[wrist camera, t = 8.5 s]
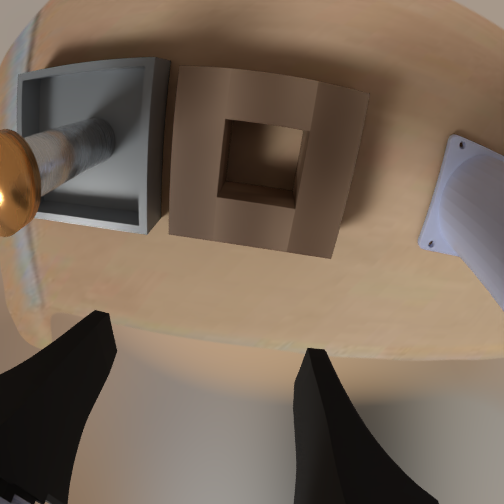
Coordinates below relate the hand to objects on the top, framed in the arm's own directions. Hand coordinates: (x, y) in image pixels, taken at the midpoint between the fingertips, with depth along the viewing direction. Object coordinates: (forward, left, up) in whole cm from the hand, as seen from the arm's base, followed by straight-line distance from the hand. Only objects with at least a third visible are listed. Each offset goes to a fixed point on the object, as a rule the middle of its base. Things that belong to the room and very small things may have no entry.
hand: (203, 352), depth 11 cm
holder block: (-1, -5, -10) cm, 12 cm away
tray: (+10, -5, -10) cm, 15 cm away
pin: (+10, -5, -10) cm, 15 cm away
